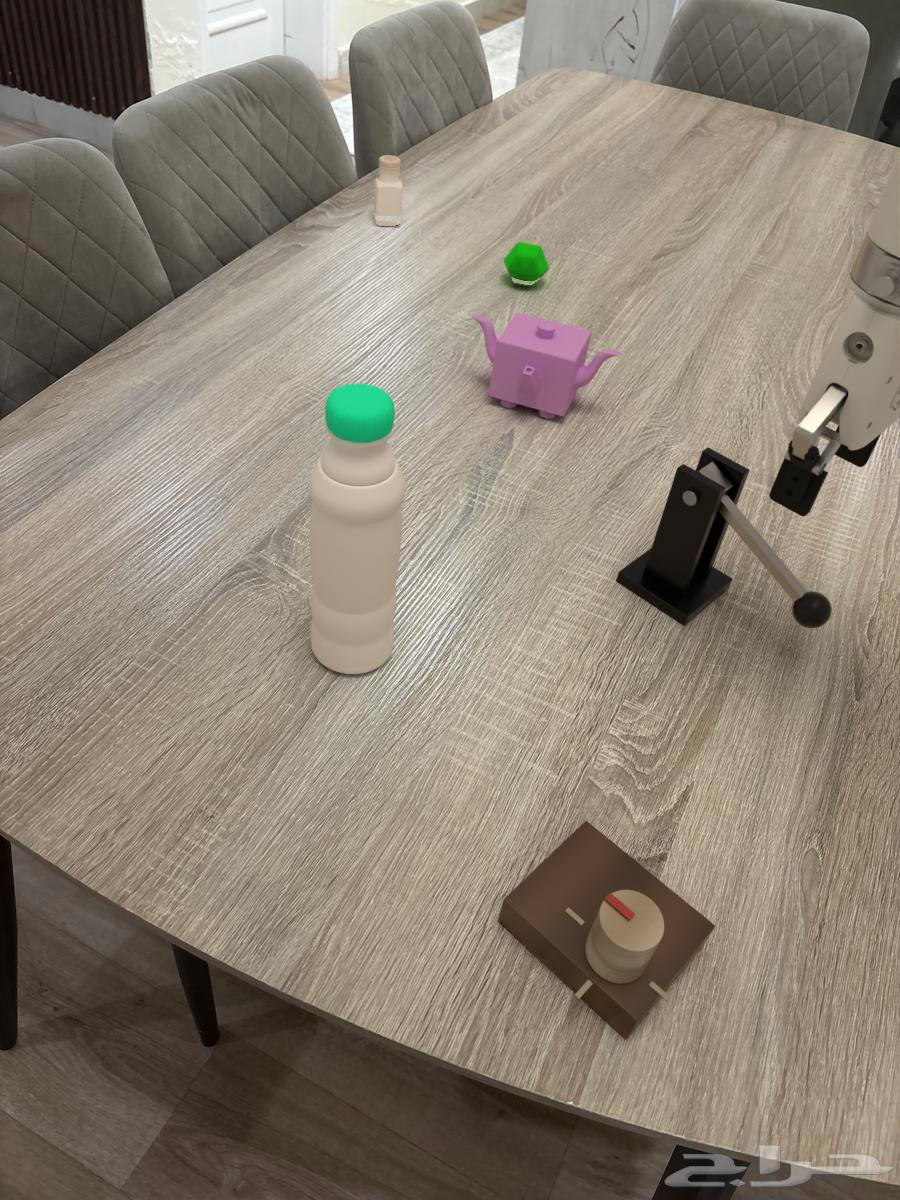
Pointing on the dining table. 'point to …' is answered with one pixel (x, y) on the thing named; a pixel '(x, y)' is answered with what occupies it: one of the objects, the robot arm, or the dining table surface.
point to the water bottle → (355, 532)
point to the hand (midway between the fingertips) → (818, 481)
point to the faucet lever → (772, 560)
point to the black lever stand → (687, 542)
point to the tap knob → (624, 936)
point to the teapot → (539, 363)
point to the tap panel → (568, 910)
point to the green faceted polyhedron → (526, 262)
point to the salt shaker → (388, 189)
